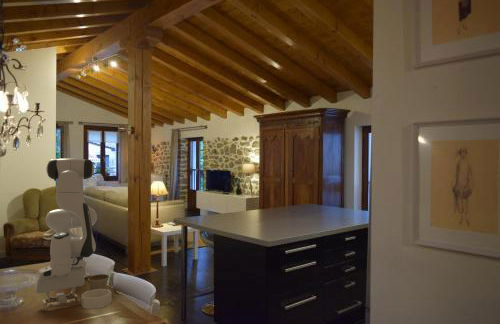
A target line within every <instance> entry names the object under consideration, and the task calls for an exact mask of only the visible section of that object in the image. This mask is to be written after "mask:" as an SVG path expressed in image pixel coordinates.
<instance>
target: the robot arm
mask: <svg viewBox="0 0 500 324" xmlns="http://www.w3.org/2000/svg"><path fill="white" fill-rule="evenodd" d="M45 170H46V174H47V176H48V177H49V179H51V180H53V181H54V182H57V183H56V187H55V189H56V190H55V201H56V205H57V206H58V208H57V209H53V210H50V211H48V212H47V214H46V216H45V224H46V226H47V227H48V228H49V229H51V230H52V231H53V232H54V234H53V235H52V236H51V239H50V247H49V250H50V251H49V255H50V262H49V265H48V266H45V267H43V268H40V269H39V270H38V276H37V277H36V280H35V287H34V289H35V290H34V291H35V293H36V294H45V296H46V297H47V298H48V302H50V301H52V297H53V295H52V296H50V293H51V292H57V291H61V290H68V289H71V291H70V292H69V293H68V294H69V298H71V297H73V294H74V293H75V292H76V289H77V288H79V287H83V286H85V284H86V280H85V278H89V277H90V276H91V275H90V274H91V273H88V272H87V261H85V259H84V258H89V257H91V256H92V255H94V253H95V252H96V249H97V248H96V247H97V245H96V241H95V237H94V232H93V226H94V225H95V224H96V222H97V220H98V213H97V212H96V211H95V209H94V208H92V207H90V206H89V204H87V202H86V201H85V196H84V180H88V179H90V178H92V177H93V176H94V172H95V165H94V163H93V161H92V160H91V159H88V158H85V159H84V158H75V157H71V158H67V157H66V158H52V159H51V158H50V160H49V161H48V163H47V164H46V168H45ZM78 228H79V229H80V228H81V229H82V236H80V235H79V234H76V233H74V232H73V231H71V229H78Z"/></svg>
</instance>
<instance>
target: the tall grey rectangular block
mask: <svg viewBox="0 0 500 324" xmlns="http://www.w3.org/2000/svg"><path fill="white" fill-rule="evenodd" d="M65 295H66V294H65V292H57V293H55V297H56V302H57V304H58V297H60V296H65Z"/></svg>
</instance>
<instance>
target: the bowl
mask: <svg viewBox="0 0 500 324" xmlns="http://www.w3.org/2000/svg"><path fill="white" fill-rule="evenodd" d="M80 300H81V305H80V306H82V308H84V309H86V310H87V309H88V310H92V309H93V310H95V309H100V308H105V307H107V306H109V305H110V304H111V303H112V300H113V299H112V291H111V290H110V289H109V288H106V289H94V290H91V289H90V290H87V291H85V292H83V293H81V295H80Z"/></svg>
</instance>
